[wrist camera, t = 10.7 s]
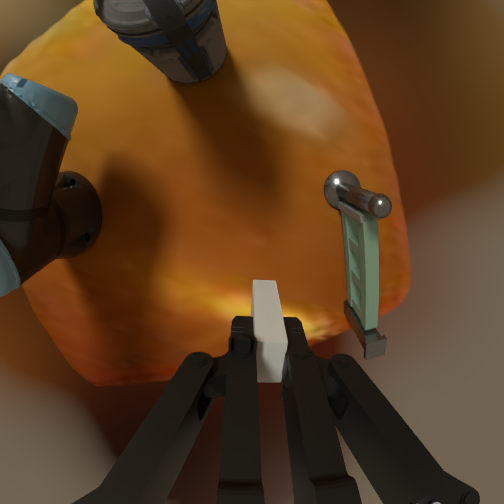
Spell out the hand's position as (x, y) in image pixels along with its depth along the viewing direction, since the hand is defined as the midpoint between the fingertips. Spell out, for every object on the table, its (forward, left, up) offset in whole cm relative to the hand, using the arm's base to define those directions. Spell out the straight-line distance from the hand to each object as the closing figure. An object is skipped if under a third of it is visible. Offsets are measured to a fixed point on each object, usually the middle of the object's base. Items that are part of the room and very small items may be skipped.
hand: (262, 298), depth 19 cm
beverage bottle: (-4, +26, -25) cm, 36 cm away
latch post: (+14, -19, -24) cm, 34 cm away
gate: (+14, -8, -23) cm, 29 cm away
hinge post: (+14, +2, -24) cm, 28 cm away
